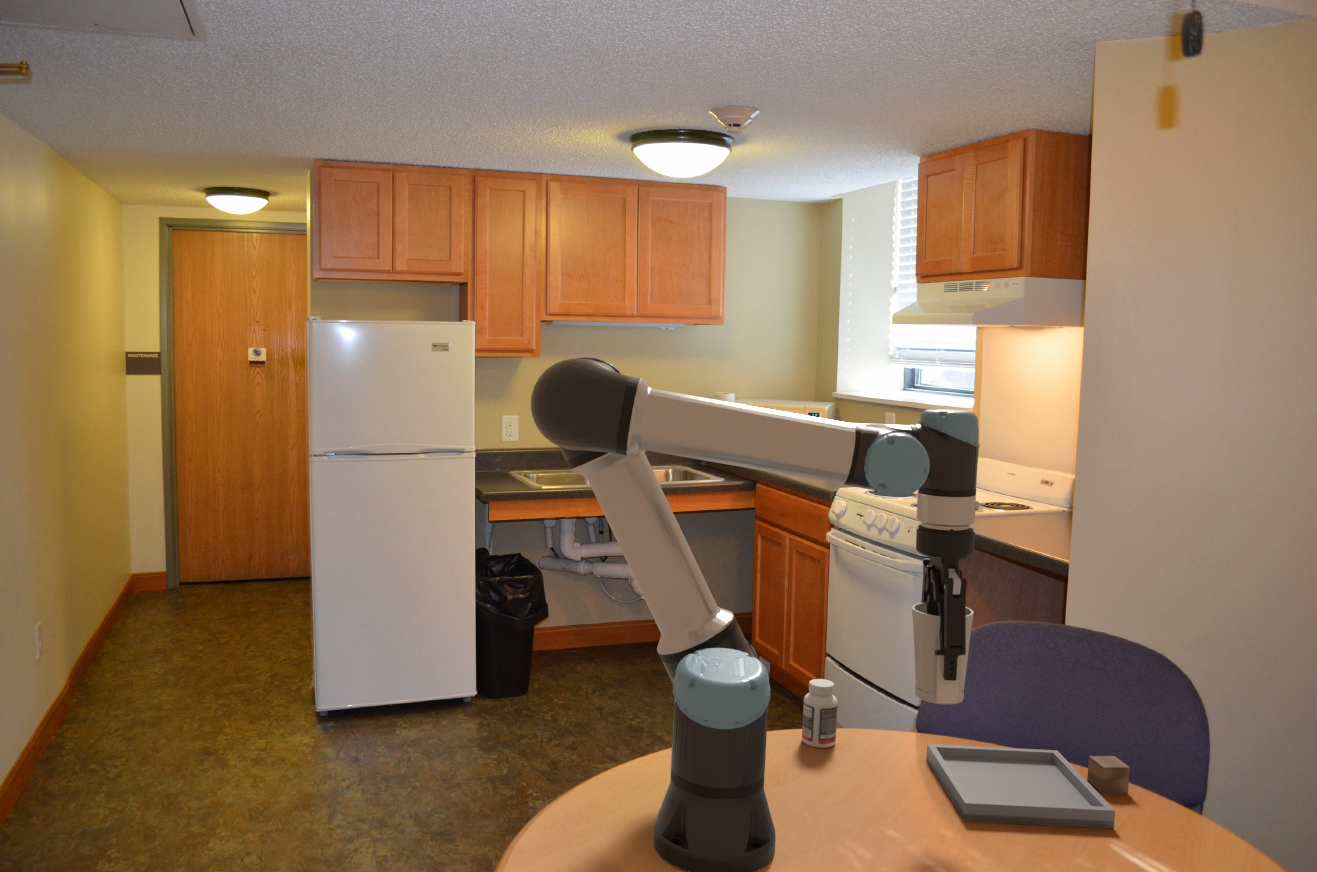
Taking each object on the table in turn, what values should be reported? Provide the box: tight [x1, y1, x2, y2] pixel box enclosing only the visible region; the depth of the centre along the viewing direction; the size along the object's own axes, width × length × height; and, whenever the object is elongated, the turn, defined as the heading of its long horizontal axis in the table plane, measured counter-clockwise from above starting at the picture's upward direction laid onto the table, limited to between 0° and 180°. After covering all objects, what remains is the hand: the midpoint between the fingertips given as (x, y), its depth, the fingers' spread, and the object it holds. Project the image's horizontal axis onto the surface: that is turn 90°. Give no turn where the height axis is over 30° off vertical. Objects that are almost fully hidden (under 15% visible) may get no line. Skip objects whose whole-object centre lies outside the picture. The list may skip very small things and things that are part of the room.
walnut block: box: [1086, 755, 1131, 794], centre depth 143 cm, size 4×4×4 cm
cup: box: [911, 602, 974, 705], centre depth 131 cm, size 8×8×12 cm
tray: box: [925, 743, 1116, 829], centre depth 140 cm, size 20×20×2 cm
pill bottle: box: [801, 678, 839, 749], centre depth 155 cm, size 5×5×10 cm
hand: (939, 691), depth 132 cm, fingers closed on cup, 7 cm apart
